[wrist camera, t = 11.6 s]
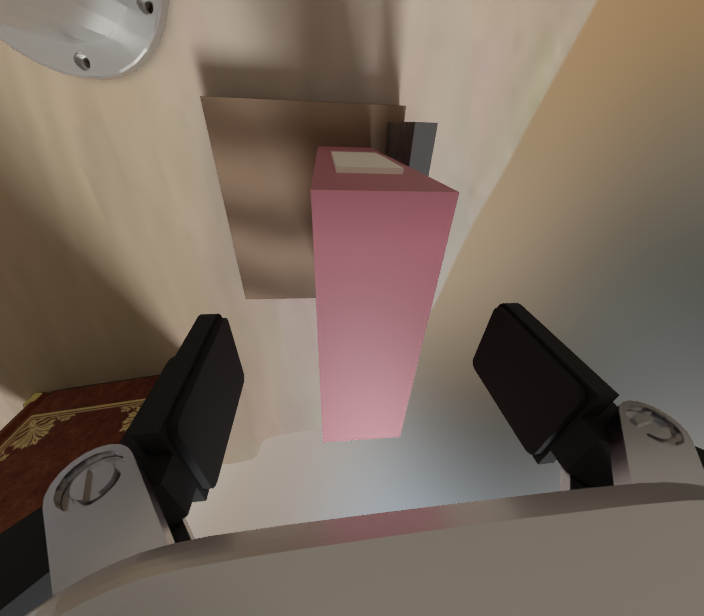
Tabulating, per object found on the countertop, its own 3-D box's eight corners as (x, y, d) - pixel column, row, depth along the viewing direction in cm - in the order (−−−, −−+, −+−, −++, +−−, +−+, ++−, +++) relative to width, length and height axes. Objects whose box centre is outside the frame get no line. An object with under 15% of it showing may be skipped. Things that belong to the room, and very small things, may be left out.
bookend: (388, 122, 20) (415, 121, 14) (404, 122, 20) (437, 123, 14) (373, 288, 28) (386, 331, 22) (384, 288, 28) (401, 331, 22)
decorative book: (66, 429, 39) (-383, 969, 14) (20, 394, 34) (-770, 1107, 9) (222, 405, 39) (49, 897, 14) (197, 367, 34) (-123, 996, 10)
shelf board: (210, 98, 19) (200, 96, 18) (399, 107, 21) (405, 105, 19) (250, 289, 29) (245, 299, 27) (380, 286, 30) (383, 296, 28)
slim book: (317, 142, 20) (310, 180, 7) (371, 144, 20) (460, 184, 7) (322, 285, 27) (323, 442, 14) (362, 285, 27) (399, 436, 14)
